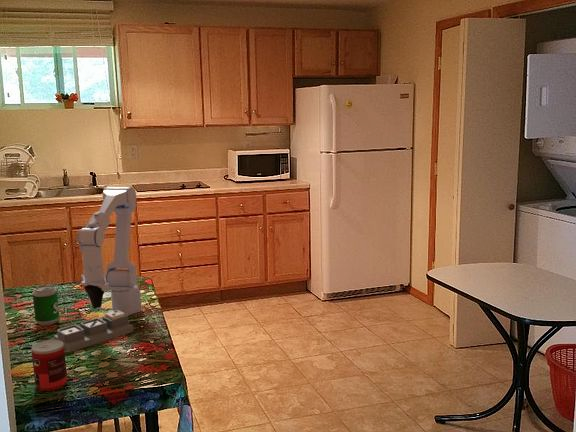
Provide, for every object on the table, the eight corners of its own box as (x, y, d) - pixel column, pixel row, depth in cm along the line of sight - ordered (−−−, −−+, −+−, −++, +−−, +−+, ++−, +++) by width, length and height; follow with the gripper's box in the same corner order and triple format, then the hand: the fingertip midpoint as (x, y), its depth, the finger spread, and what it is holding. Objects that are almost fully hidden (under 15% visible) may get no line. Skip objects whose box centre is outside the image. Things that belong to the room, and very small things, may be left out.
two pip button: (118, 314, 193) (117, 309, 193) (125, 318, 190) (124, 312, 190) (105, 318, 190) (105, 312, 190) (112, 322, 187) (112, 316, 187)
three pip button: (97, 325, 188) (96, 319, 188) (103, 329, 185) (103, 323, 185) (84, 329, 185) (83, 323, 185) (90, 333, 182) (90, 327, 182)
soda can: (51, 327, 194) (47, 292, 191) (30, 325, 195) (27, 291, 193) (64, 318, 201) (61, 285, 198) (44, 317, 202) (40, 284, 200)
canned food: (40, 378, 159) (36, 340, 156) (71, 376, 159) (67, 338, 157) (31, 392, 151) (26, 352, 149) (63, 390, 152) (59, 350, 150)
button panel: (116, 322, 197) (115, 309, 196) (133, 331, 189) (132, 317, 188) (54, 341, 182) (52, 327, 181) (70, 352, 175) (69, 337, 174)
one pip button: (74, 332, 183) (74, 326, 183) (81, 336, 180) (80, 330, 180) (61, 336, 180) (60, 330, 180) (67, 340, 177) (66, 334, 177)
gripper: (70, 263, 184) (74, 304, 187) (92, 273, 174) (96, 316, 177) (91, 259, 189) (95, 299, 192) (113, 268, 179) (117, 310, 182)
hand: (97, 307), depth 185 cm, fingers closed
